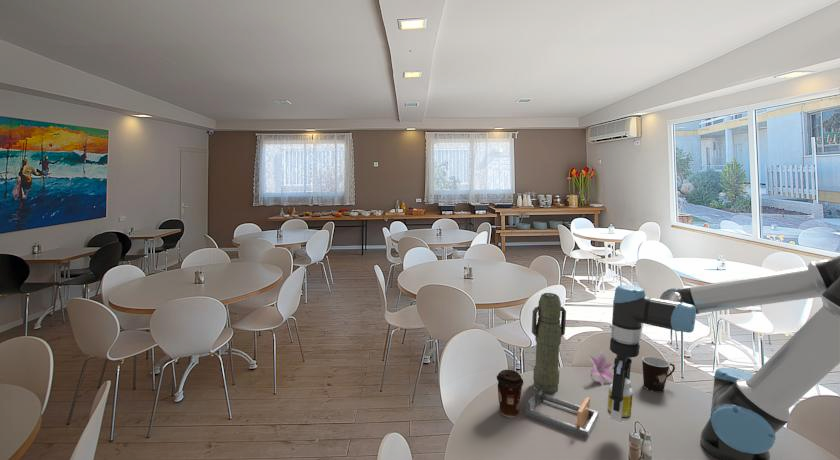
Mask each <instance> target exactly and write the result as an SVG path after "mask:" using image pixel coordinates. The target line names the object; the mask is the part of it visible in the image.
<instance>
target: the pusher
mask: <svg viewBox="0 0 840 460" xmlns="http://www.w3.org/2000/svg"><path fill="white" fill-rule="evenodd" d="M542 401H543V402H542V403H544V404H547V405H550V406H553V407H555V408H558V409H561V410H564V411H566V412H570V413H573V414H575V415H576V416H577V418H576V420H577V421H576V426H578V427H581V428H584V426H585V424H586V422H587V420H588V418H589V417H590V416H589V409H590V405H591V404H590V403H591V402H590V401H591V398H590V397H588V396H586V397H585V399H584V400H583V402H582V403H581V405H580V406H581V407H580V408H579V410H578V411H575V410H572V409H569V408H566V407H563V406H560V405H557V404H554V403H551V402H549V401H546V400H542Z"/></svg>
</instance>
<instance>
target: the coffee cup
mask: <svg viewBox="0 0 840 460" xmlns="http://www.w3.org/2000/svg"><path fill="white" fill-rule="evenodd" d="M496 380H497V382H498V383H497V396H498V402H499V406H498V407H499V412H500V414H501V415H502V416H503V417H506V418H510V419H511V418H513V419H514V418H516V417H517V416H519V415H520V405H521V398H522V396H521V395H522V389H523V385H524V379H523V377H522V375H521V374H519V373H518V372H517V371H516V370H513V369H503V370H501V371H499V373H498V374H497V375H496Z"/></svg>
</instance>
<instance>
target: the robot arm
mask: <svg viewBox="0 0 840 460" xmlns="http://www.w3.org/2000/svg"><path fill="white" fill-rule="evenodd" d="M814 298H821V301H822V306H821V308H819V309H818V310H817V311H816V313H814V314H813V315H812V316H811V317H810V319H808V320H807V321H806V322H805V323H804V324H803V325H802V326H801V327H800V328H799V329H798V330H797V331H796V332H795V333H794V334H793V335H792V336H791V337H790V338H789V339H788V340H787V341H786V342H785V343H784V344H783V345H782V346H781V347H780V348H779V349H778V350H777V351H776V352H775V353H774V354H772V356H771V357H770V358H769V359H768V360H767V361H766V362H765V363H764V364H763V365H762V366H761V367H760V368H759V369H758V370H757V371H756V372H754V373H753V372H750V371H745V370H743V369H738V368H737V369H736V368H732V367H719V368H717V369H716V370H715V372H714V375H713V378H714V379H713V386H712V387H713V389H712V398H711V409H710V415H709V416H710V417H709V418H708V420H707V422H706V424H705V425H704V427H703V428H702V431H701V432H700V444H701V447H703V449H704V450H705V451H707V453H709V454H711V456H713V457H715V458H716V459H718V460H771V453H770V450H771V449H772V447H773V446H774V444H775V442H776V439H777V438H776V433H777V432H778V431H780V430H781V429H782V428H783V427H784V426H785V425H786V424H788V423H789V422H790V421H791V419H792V418H791V417H792V416H791V414H790V410H789V409H791V408H792V407H793V406H794V405H795V404H796V403H797V402H798V401H799V400H800V399H801V398H803V397H804V396H805V395H806V394H807V393H808V392H809V391H810V390H812V389H813V388H814V387H815V386H816V385H817V384H818V383H819V382H821V381H822V380H823V379H824V378H825V377H826V376H827V375H828V374H829V373H831V372H832V371H833V370H834V369H835V368H836V367H837V366H838V365H839V364H840V255H837V256H833V257H828V258H823V259H819V260H813V261H810V262H809V263H808V264H807V266H805V267H803V266H802V267H798V268H792V269H791V268H790V269H786V270H781V271H775V272H769V273H764V274H759V275H753V276H747V277H742V278H735V279H731V280H730V279H729V280H725V281H720V282H715V283H714V282H713V283H708V284H703V285H697V286H691V287H686V288H678V287H673V288H669V289H666V291H663V292H662V294H661V295H660V297H659V298H656V297H652V296H646V293H645V289H644V288H642V287H640V286H636V285H628V284H621V285H618V286H617V287H615V290H614V295H613V301H612V302H613V303H612V319H611V324H609V329H611V330H610V333H611V334H610V336H611V337H610V340H609V350H610V351H611V353H613V354H615V355H616V357H615V358H614V360H613V361H614V362H613V363H614V364H613V367H612V368H613V383H612V384H613V385H612V395H610V396H609V398H611V399H612V408H611V416H610V419H611V420H613V421H616V422H618V423H621V422H622V421H621V420H622V409H623V391H624V384H625V378H627V379H629V380H631V379H630V376H631V366H632V363H633V358H636V357H638V356H639V355H640V349H641V347H640V345H641V343H640V341H641V340H642V339H641V338H642V331H643V329H642V325H643V324H644V325H649V326H653V327H659V328H662V329H666V330H672V331H675V332H681V333H688V334H691V333H692V332H694V329H695V325H696V317H697V315H698V314H699V315H700V314H703V313H704V314H705V313H711V312H712V313H713V312H719V311H726V310H733V309H734V310H735V309H742V308H749V307H755V306H764V305H771V304H777V303H784V302H785V303H786V302H793V301H799V300H807V299H814ZM631 387H632V386H630V388H631ZM631 389H632V388H631Z"/></svg>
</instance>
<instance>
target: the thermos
mask: <svg viewBox="0 0 840 460" xmlns="http://www.w3.org/2000/svg"><path fill="white" fill-rule="evenodd" d="M531 315H532V320H531V321H532V322H531V333H532V334H533V335H534V337H535V338H534V339H535V343H536V345H535V365H534V366H533V378H532V379H533V385H534V386H533V388H534V387H535V388H536V389H537V390H538V389H539V388H541V389H542V393H544V394H554V393H557V392H559V384H560V369H559V359H560V358H559V355H560V354H559V352H560V345H561V343H562V337H563V336H565V333H566V320H567V319H566V318H567V310H566V309H565V308H564V307H563V306H562V302H561V299H560V296H559V295H558V294H556V293H553V292H544V293H542V294H541V295H540V297H539V300H538V305H537V306H535V307H534V308H533V310H532V314H531ZM537 315H538V316H537ZM560 318H561V320H560ZM535 388H534V389H535ZM536 389H535V390H536ZM537 390H536V391H537Z"/></svg>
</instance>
